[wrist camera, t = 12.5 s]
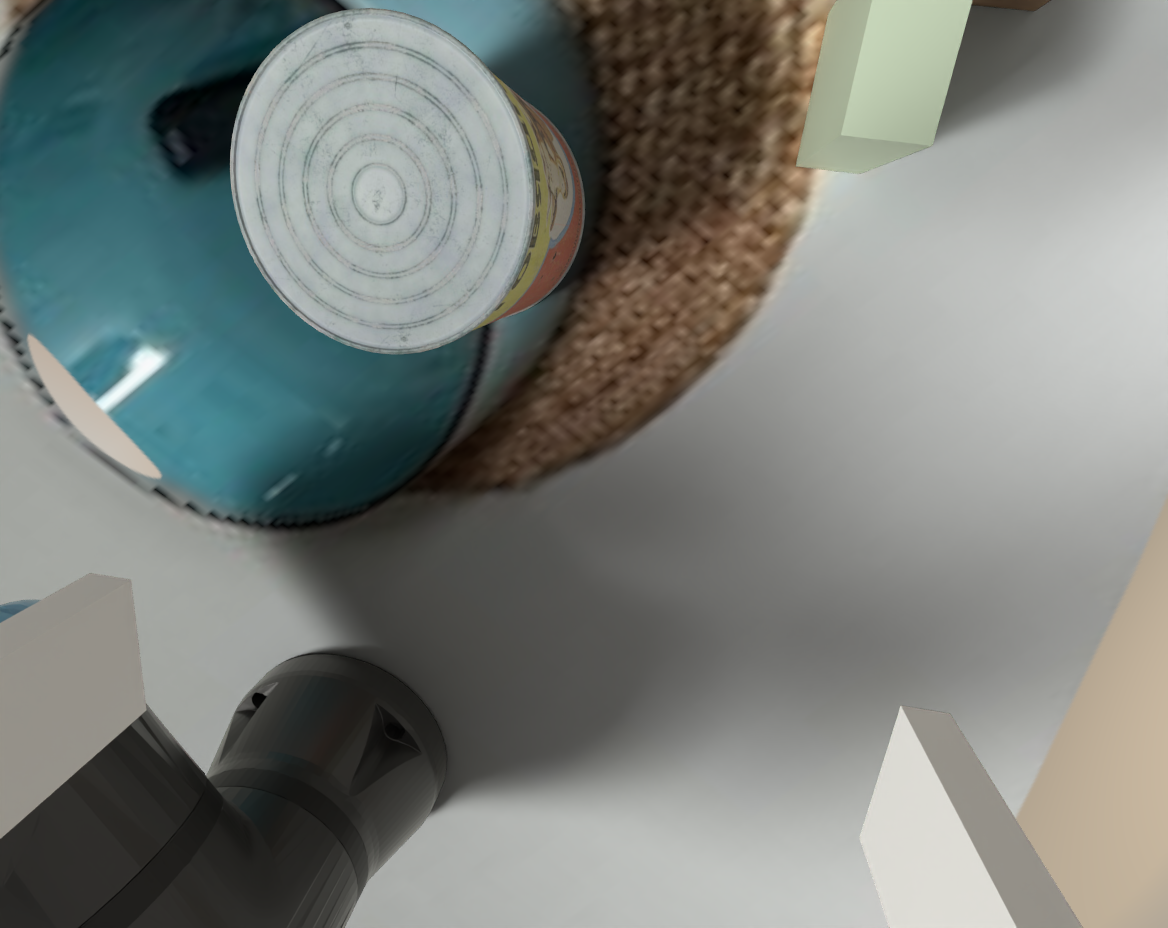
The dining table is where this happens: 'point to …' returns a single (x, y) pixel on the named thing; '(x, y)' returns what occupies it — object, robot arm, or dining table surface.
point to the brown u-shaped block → (1012, 4)
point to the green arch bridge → (880, 81)
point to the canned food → (399, 184)
